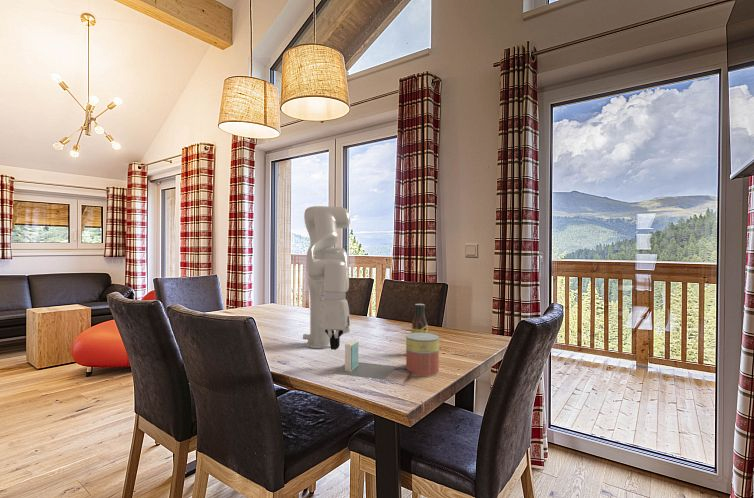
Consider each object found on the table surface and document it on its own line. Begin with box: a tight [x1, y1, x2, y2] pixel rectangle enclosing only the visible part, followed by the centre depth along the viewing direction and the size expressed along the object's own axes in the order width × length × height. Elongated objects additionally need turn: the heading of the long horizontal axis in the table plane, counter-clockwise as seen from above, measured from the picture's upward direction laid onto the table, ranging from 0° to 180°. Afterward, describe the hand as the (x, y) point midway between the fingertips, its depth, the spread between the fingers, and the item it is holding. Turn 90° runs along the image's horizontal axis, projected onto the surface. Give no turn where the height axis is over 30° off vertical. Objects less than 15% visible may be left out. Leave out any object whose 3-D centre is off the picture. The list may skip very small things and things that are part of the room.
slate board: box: [332, 361, 397, 381], centre depth 130 cm, size 18×14×1 cm
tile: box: [344, 338, 359, 372], centre depth 131 cm, size 2×7×9 cm, turn 162°
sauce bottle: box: [411, 303, 429, 333], centre depth 151 cm, size 7×6×20 cm
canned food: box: [405, 332, 440, 378], centre depth 132 cm, size 11×11×12 cm
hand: (334, 348), depth 133 cm, fingers closed
